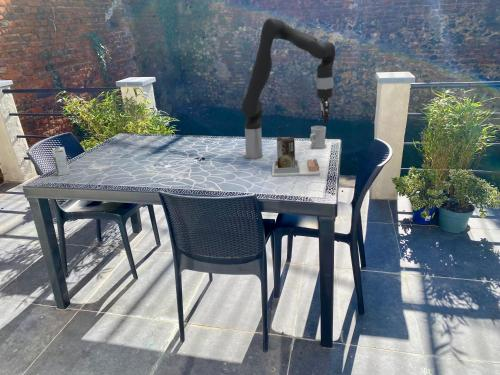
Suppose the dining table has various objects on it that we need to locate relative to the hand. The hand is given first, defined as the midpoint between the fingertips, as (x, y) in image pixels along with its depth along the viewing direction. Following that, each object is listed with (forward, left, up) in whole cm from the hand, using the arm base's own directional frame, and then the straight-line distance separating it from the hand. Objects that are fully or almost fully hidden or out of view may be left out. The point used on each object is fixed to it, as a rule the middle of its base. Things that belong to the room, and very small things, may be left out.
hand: (325, 120), depth 195 cm
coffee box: (-19, +1, -25) cm, 31 cm away
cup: (+1, +39, -26) cm, 47 cm away
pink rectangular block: (-6, 0, -24) cm, 25 cm away
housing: (-15, 0, -26) cm, 29 cm away
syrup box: (-142, +7, -26) cm, 144 cm away
